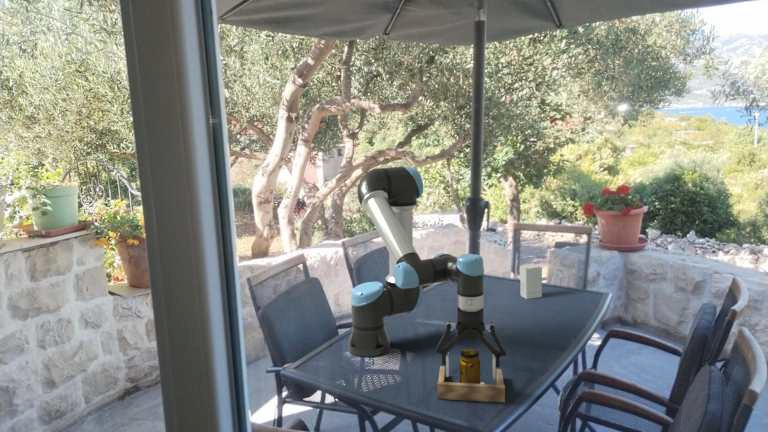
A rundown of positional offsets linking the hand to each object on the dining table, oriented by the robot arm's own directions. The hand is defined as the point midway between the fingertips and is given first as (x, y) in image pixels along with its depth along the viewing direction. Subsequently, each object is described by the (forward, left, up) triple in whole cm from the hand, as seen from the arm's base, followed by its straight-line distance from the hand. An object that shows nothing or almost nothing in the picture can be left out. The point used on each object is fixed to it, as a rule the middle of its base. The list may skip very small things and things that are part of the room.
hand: (470, 376), depth 147 cm
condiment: (+1, 0, -4) cm, 5 cm away
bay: (0, +1, -4) cm, 4 cm away
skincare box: (+28, +89, -4) cm, 93 cm away
